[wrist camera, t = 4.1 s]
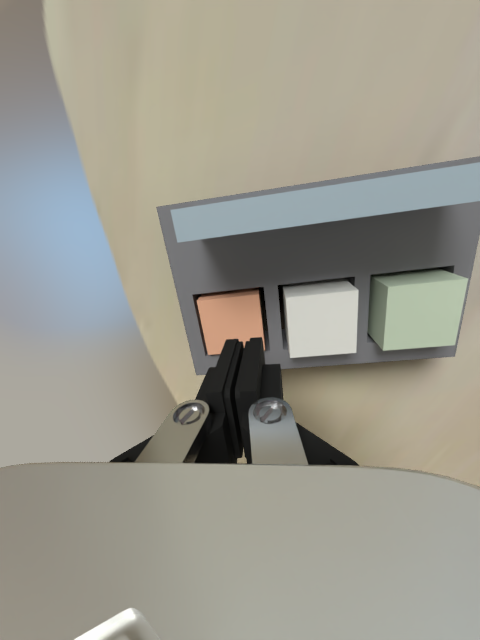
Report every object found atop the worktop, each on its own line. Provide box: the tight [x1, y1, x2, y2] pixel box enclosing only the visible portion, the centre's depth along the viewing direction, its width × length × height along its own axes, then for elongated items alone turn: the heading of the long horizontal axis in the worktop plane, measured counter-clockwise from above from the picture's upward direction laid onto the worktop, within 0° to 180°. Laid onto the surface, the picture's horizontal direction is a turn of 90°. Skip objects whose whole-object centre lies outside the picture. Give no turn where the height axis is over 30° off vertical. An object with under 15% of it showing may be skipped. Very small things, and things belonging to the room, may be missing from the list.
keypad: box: [156, 156, 480, 375], centre depth 14 cm, size 16×10×7 cm, turn 98°
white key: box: [282, 278, 359, 358], centre depth 15 cm, size 4×4×3 cm
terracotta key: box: [197, 287, 265, 355], centre depth 17 cm, size 4×4×3 cm
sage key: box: [367, 268, 468, 351], centre depth 15 cm, size 4×4×3 cm
